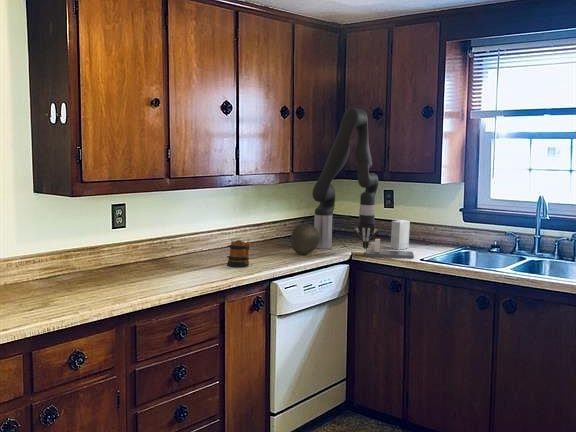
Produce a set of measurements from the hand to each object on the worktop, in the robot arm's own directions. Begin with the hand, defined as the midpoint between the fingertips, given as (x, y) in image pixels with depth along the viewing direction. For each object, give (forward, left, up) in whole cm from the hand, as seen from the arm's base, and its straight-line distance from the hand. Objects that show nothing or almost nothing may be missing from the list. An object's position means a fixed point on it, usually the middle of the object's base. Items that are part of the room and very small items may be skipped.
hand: (365, 248), depth 316 cm
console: (+12, +1, -3) cm, 12 cm away
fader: (+6, 0, -1) cm, 6 cm away
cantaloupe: (-29, -8, -3) cm, 31 cm away
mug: (-54, -43, -3) cm, 69 cm away
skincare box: (+18, +23, -3) cm, 29 cm away
